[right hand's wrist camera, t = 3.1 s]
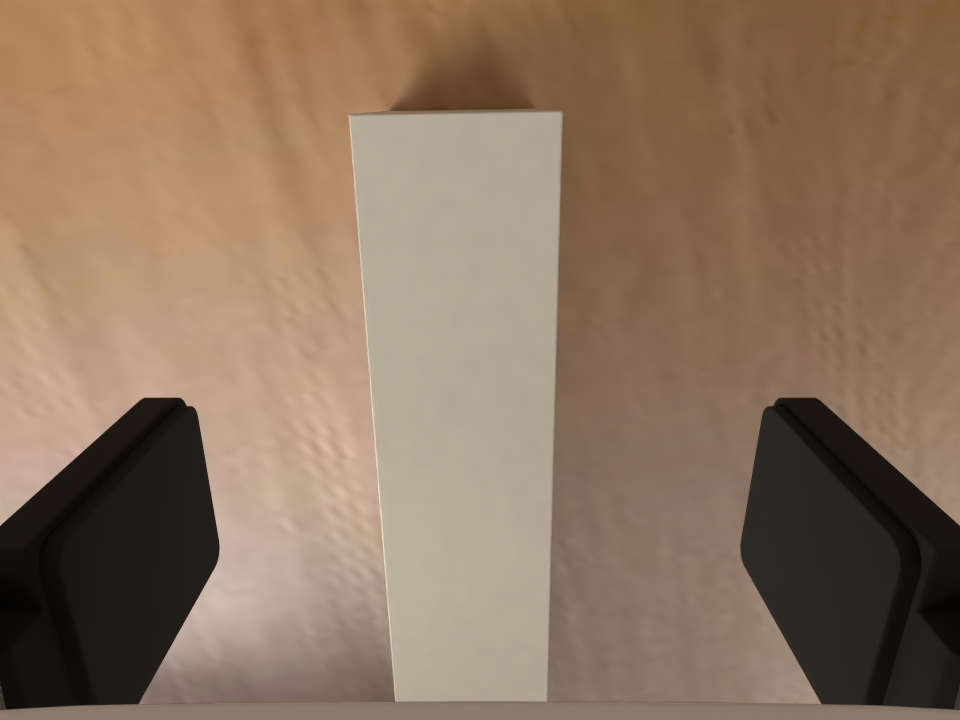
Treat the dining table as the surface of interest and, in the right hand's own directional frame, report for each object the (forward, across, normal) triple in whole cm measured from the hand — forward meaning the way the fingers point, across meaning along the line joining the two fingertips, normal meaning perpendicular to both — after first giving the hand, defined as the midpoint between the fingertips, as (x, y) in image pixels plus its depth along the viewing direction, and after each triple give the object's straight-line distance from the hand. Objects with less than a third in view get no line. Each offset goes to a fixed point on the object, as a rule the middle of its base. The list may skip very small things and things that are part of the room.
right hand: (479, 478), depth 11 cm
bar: (+15, 0, -32) cm, 36 cm away
